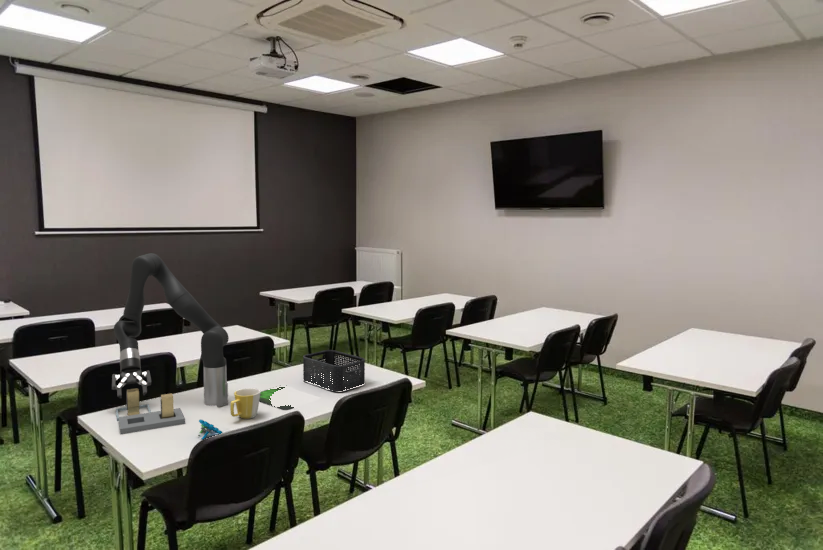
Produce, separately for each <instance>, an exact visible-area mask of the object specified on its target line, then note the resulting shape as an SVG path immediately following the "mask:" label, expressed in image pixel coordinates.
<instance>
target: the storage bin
mask: <svg viewBox="0 0 823 550" xmlns="http://www.w3.org/2000/svg"><path fill="white" fill-rule="evenodd" d="M321 355H322V357H321V358H318V359H313V358H312V357H317V356H321ZM302 357H303V358H302V359H303V360H302V361H303V362H302V363H303V366H302V367H303V370H302V372H303V374H302V376H303V379H304V380H305V381H308V382H311V383H313V384H314V383H315V384H317V385H320V386H321V387H324V388H327V389H328V388H329V389H330V390H333V391H343V390H345V389H346V390H347V389H350V388H353V387H356V386H359V385H362V384H364V383H365V382H366V381H365V380H366V377H365V376H366V373H365V370H366V368H365V367H366V364H365V363H366V361H365V360H366V359H365V358H364V357H360V356H357V355H353V354H350V353H349V354H348V353H345V352H342V351H338V350H333V349H327V350H321V351H317V352H313V353H308V354H304V355H303V356H302ZM330 372H331V373H330ZM321 373H322V374H321ZM318 374H319V375H318ZM323 374H324V375H323ZM330 374H331V375H330ZM321 375H322V376H321ZM311 376H312V377H311ZM323 376H324V377H323ZM330 376H331V377H330ZM314 377H315V378H314ZM321 377H322V378H321ZM343 377H344V378H343ZM311 378H312V379H311ZM323 378H324V379H323ZM330 378H331V379H330ZM332 379H333V380H332ZM343 379H344V380H343ZM311 380H312V381H311ZM323 380H324V381H323ZM330 380H331V381H330ZM347 380H348V381H347ZM332 381H333V382H332ZM316 382H317V383H316ZM323 382H324V383H323ZM332 383H333V384H332ZM365 384H366V383H365ZM328 386H329V387H328ZM345 387H346V388H345Z"/></svg>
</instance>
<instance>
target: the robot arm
mask: <svg viewBox="0 0 823 550" xmlns="http://www.w3.org/2000/svg"><path fill="white" fill-rule="evenodd" d="M151 276H152V277H153V278H155V279H156V281H157V282H158V283H159V284H160V286H161V287H162V288H163V289H162V290H163V292H164V296H165V300H166V302H167V304H168V305H169V306H170V308H172V309H173V311H175V313H176V314H177V315H178V316H180V317H181V318H183V319H184V320H186V321H188V322H189V323H191V324H192V325H194V326H196V328H198V329H199V331H200V332H201V333H202V336H201V340H200V350H201V351H200V354H201V360H202V364H203V403H204V405H206V406H210V407H215V406H216V407H217V408H220V407H223V406H227V405H229V390H228V389H229V388H228V387H229V386H228V381H227V358H226V357H224V347H225V346H226V345H227V344H228V342H229V340H230V339H229V333H228V332H227V331H226V328H224V327H223V326H221V324H219V323H218V322H217V321H216V320H215V319H213V317H212V316H210V314H209V313H208V312H207V311H206V310H205V308H204V307H202V305H201V304H200V303H199V302H198V301H197V300H196V298H195V297H194V296H193V295H192V294H191V293H190V292H189V291H188V290H187V289H186V288H185V286H184V285H183V284H182V283H181V282H180V281H179V279H177V277H175V275H174V274H173V273H172V272H171V270H170V269H169V267H168V266H167V264H166V263H165V261H163V259H162V258H161V257H160V256H159V255H158V254H156V253H145V254H142V255H139V256H137V257H135V258H134V259H133V260H132V264H131V269H130V280H129V281H130V282H129V288H128V295H127V299H126V303H125V306H124V309H123V317H124V318H126V319H127V320H117V322H115V324H114V327H113V332H114V336H115V338H116V339H117V342H118V345H119V366H120V370H119V371H120V374H116V373H113V374H111V375H112V376H111V378H112V379H111V390H113V391H116V392H117V393H116V394H117V398H119V399H122V398H123V397H122V395H123V394H122V388H123V387H124V386H126V385H131V384H138V385H139V386H140V385H141V387H142V395H143V396H146V394H147V393H148V388H147V387H148V386H151V385H152V377H151V373H150V370H146V371H142V369H141V368H142V367H141V366H142V365H141V356H140V351H139V342H138V340H137V339H136V338H137V337H139V336H140V334H142V316H143V315H142V314H143V310H144V307H145V304H146V297H145V296H146V295H145V284H146V283H147V280H148V278H149V277H151ZM143 376H144V377H145V378H146V381H145V380H144V379H143V378H142V377H143ZM118 379H120V382H119V383H118V385H117V384H116V383H117V382H116V381H118Z"/></svg>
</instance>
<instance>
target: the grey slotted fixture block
mask: <svg viewBox="0 0 823 550" xmlns="http://www.w3.org/2000/svg"><path fill="white" fill-rule="evenodd" d="M185 424H186V417H185V415H184V412H183V411H182V409H181V407H178V408H177V407H176V408H174V417H171V418H164V419H161V410H158V411H151V412H150V413H149V412H143V413H139V414H136V415H130V416H128V415H125V416H119V421H118V426H119V433H120V435H125V434H132V433H138V432H143V431H148V430H157V429H162V428H167V427H174V426H179V425H185Z"/></svg>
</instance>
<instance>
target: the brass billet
mask: <svg viewBox="0 0 823 550" xmlns="http://www.w3.org/2000/svg"><path fill="white" fill-rule="evenodd" d="M139 390H140V389H139V387H138V388H130V389H126V407H127V410H126V411H127V416H130V415H136V414H140V408H139V405H140V391H139Z"/></svg>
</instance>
